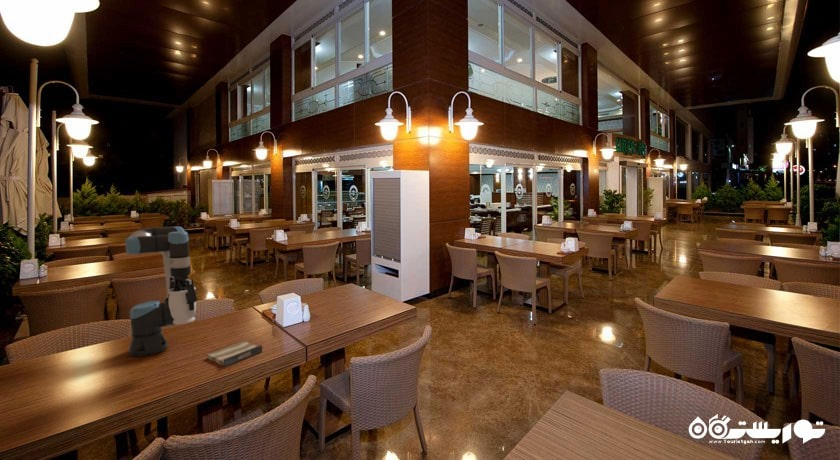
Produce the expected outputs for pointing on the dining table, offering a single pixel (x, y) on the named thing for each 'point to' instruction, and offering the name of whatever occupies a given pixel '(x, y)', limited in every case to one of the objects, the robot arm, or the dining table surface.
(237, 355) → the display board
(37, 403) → the dining table surface
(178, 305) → the jar
